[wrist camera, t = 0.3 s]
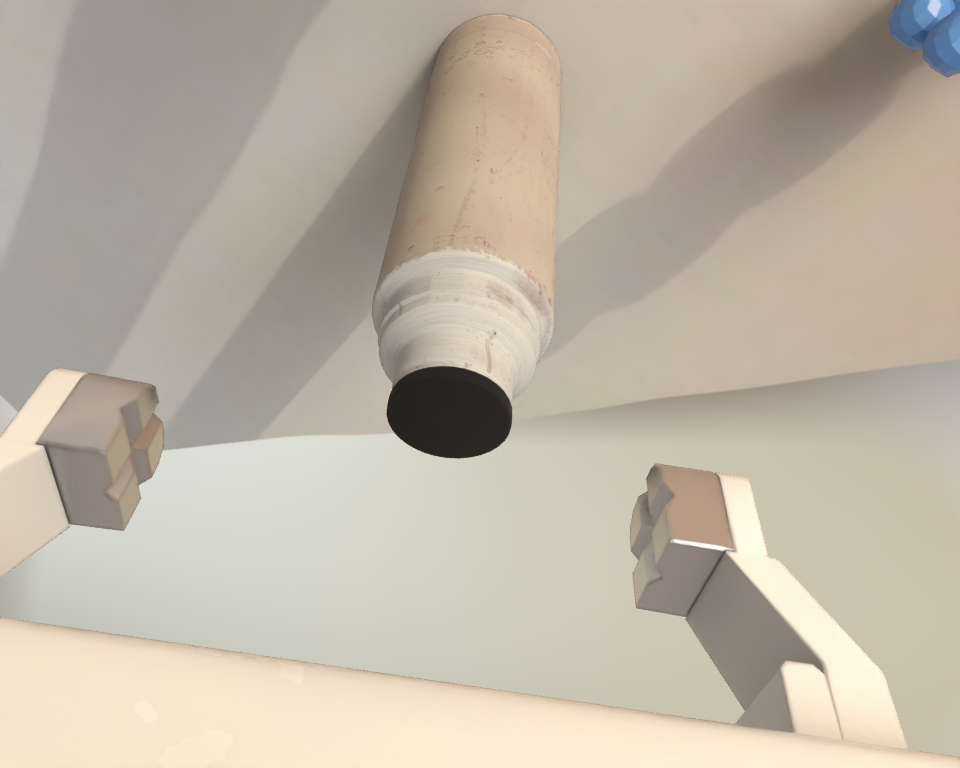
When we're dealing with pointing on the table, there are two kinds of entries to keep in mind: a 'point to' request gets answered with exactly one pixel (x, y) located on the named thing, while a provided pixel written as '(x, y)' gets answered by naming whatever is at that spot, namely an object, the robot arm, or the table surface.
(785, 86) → the table surface
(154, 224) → the table surface
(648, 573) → the robot arm
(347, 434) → the table surface
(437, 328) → the thermos bottle
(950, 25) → the grapes
